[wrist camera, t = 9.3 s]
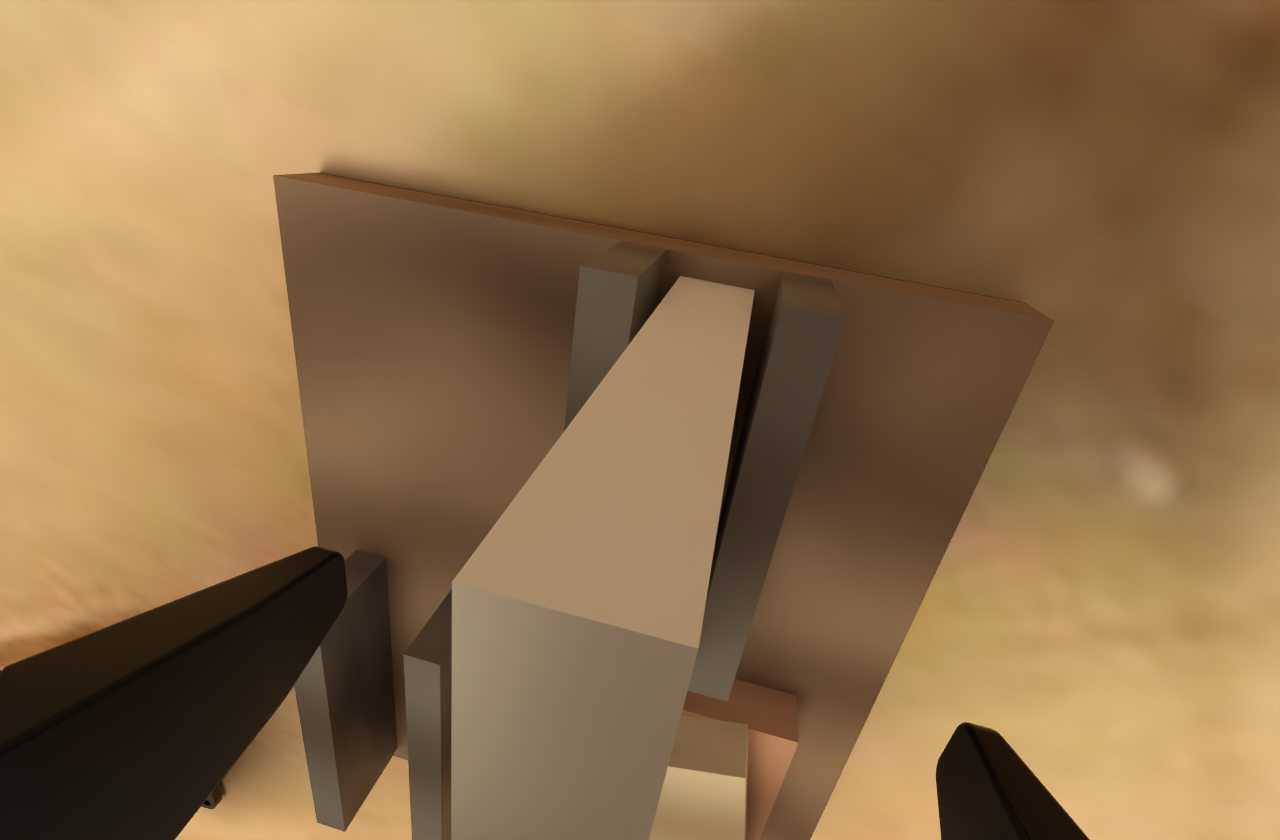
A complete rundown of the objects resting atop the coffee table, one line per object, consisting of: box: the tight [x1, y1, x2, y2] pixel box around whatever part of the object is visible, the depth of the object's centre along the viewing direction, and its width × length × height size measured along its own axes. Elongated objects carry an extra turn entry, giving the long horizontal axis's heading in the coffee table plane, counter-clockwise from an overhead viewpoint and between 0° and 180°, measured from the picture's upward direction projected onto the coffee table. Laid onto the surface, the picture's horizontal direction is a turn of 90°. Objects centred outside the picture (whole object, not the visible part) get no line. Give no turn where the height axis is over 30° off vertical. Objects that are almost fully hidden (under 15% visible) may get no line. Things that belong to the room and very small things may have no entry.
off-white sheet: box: [451, 276, 755, 840], centre depth 10 cm, size 8×2×10 cm, turn 172°
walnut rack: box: [273, 173, 1054, 840], centre depth 16 cm, size 20×17×4 cm
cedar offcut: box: [681, 679, 799, 840], centre depth 18 cm, size 7×5×2 cm
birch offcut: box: [649, 715, 748, 840], centre depth 17 cm, size 6×4×2 cm, turn 4°
